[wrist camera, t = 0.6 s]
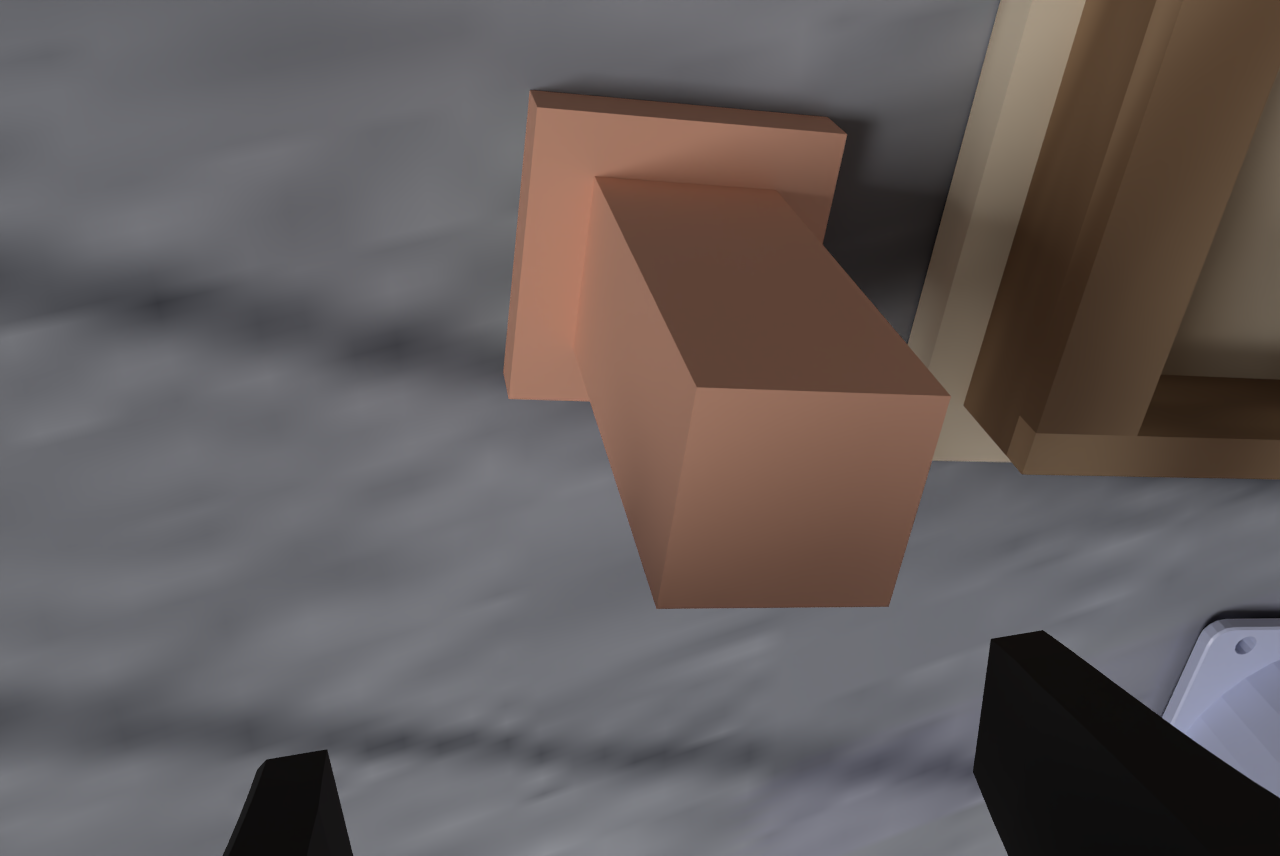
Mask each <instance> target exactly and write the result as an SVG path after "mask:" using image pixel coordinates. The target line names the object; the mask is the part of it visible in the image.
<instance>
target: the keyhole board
mask: <svg viewBox="0 0 1280 856" xmlns="http://www.w3.org/2000/svg"><path fill="white" fill-rule="evenodd" d="M908 346H909V347H910V348H911V349H912V351H913V352H914V353H915V354H916V355H917V357H918V358H919V359H920V360H921V361H922V362H923V364H924V365H925V366H926V367H927V368H928V370H929V371H930V372H931V373H932V374H933V375H934V377H935V378H936V379H937V380H938V381H939V382H940V384H941V385H942V386H943V387H944V388H945V390H946V391H947V392H948V393H949V394H950V395H951V398H950V402H949V405H948V408H947V412H946V415H945V418H944V422H943V425H942V429H941V432H940V435H939V439H938V442H937V445H936V449H935V452H934V456H933V459H932V461H975V462H1012V463H1013V464H1014V466H1015V467H1016V468H1017V469H1018V470H1019V471H1020V473H1021V474H1027V475H1079V476H1132V477H1184V478H1237V479H1280V0H1001V1H1000V4H999V8H998V12H997V15H996V19H995V23H994V26H993V30H992V34H991V38H990V41H989V45H988V49H987V52H986V56H985V60H984V63H983V67H982V71H981V75H980V78H979V82H978V86H977V89H976V93H975V97H974V100H973V104H972V108H971V112H970V115H969V119H968V123H967V126H966V130H965V134H964V138H963V141H962V145H961V149H960V152H959V156H958V160H957V163H956V167H955V171H954V175H953V178H952V182H951V186H950V189H949V193H948V197H947V200H946V204H945V208H944V212H943V215H942V219H941V223H940V226H939V230H938V234H937V237H936V241H935V245H934V249H933V252H932V256H931V260H930V263H929V267H928V271H927V275H926V278H925V282H924V286H923V289H922V293H921V297H920V300H919V304H918V308H917V312H916V315H915V319H914V323H913V326H912V330H911V334H910V337H909V341H908Z"/></svg>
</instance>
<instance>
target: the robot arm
mask: <svg viewBox="0 0 1280 856" xmlns="http://www.w3.org/2000/svg"><path fill="white" fill-rule="evenodd" d="M973 773H974V775H975V778H976V780H977V783H978V785H979V788H980V790H981V793H982V795H983V798H984V800H985V802H986V805H987V807H988V810H989V812H990V815H991V817H992V820H993V822H994V824H995V826H996V829H997V831H998V833H999V835H1000V838H1001V840H1002V842H1003V845H1004V847H1005V849H1006V851H1007V854H1008V856H1280V618H1260V619H1222V620H1217V621H1215V622H1213V623H1211V624H1209V625H1208V626H1207V627H1206V628H1204V629H1203V631H1202V632H1201V634H1200V636H1199V638H1198V640H1197V642H1196V644H1195V647H1194V649H1193V651H1192V653H1191V655H1190V657H1189V660H1188V662H1187V664H1186V666H1185V668H1184V671H1183V673H1182V675H1181V677H1180V679H1179V682H1178V684H1177V686H1176V688H1175V690H1174V693H1173V695H1172V697H1171V699H1170V701H1169V703H1168V706H1167V708H1166V710H1165V712H1164V714H1163V717H1160V716H1159V715H1157V714H1156V713H1155V712H1153V711H1152V710H1151V709H1149V708H1148V707H1147V706H1145V705H1144V704H1142V703H1141V702H1140V701H1138V700H1137V699H1136V698H1134V697H1133V696H1132V695H1130V694H1129V693H1128V692H1126V691H1125V690H1123V689H1122V688H1121V687H1119V686H1118V685H1117V684H1115V683H1114V682H1113V681H1111V680H1110V679H1109V678H1107V677H1106V676H1105V675H1103V674H1102V673H1101V672H1099V671H1098V670H1097V669H1095V668H1094V667H1093V666H1091V665H1090V664H1089V663H1087V662H1086V661H1084V660H1083V659H1082V658H1080V657H1079V656H1078V655H1076V654H1075V653H1074V652H1072V651H1071V650H1070V649H1068V648H1067V647H1066V646H1064V645H1063V644H1061V643H1060V642H1059V641H1057V640H1056V639H1054V638H1053V637H1052V636H1050V635H1049V634H1047V633H1046V632H1045V631H1043V630H1042V631H1036V632H1030V633H1024V634H1018V635H1012V636H1006V637H1000V638H994V639H991V643H990V650H989V658H988V665H987V672H986V680H985V687H984V694H983V702H982V709H981V717H980V724H979V731H978V739H977V746H976V753H975V761H974V768H973ZM223 856H353V853H352V849H351V845H350V841H349V837H348V833H347V829H346V825H345V821H344V816H343V812H342V808H341V804H340V800H339V796H338V792H337V788H336V784H335V780H334V775H333V771H332V767H331V763H330V759H329V755H328V751H327V750H321V751H315V752H309V753H303V754H297V755H291V756H285V757H279V758H273V759H267V760H266V761H265V762H264V763H263V764H262V765H261V766H260V767H259V768H258V769H257V772H256V775H255V777H254V780H253V783H252V786H251V789H250V791H249V794H248V796H247V799H246V801H245V804H244V807H243V809H242V812H241V814H240V817H239V819H238V821H237V824H236V826H235V829H234V831H233V833H232V836H231V838H230V840H229V843H228V845H227V847H226V849H225V852H224V854H223Z"/></svg>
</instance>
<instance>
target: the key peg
mask: <svg viewBox="0 0 1280 856" xmlns="http://www.w3.org/2000/svg"><path fill="white" fill-rule="evenodd" d="M846 138H847V134H846V133H845V132H844V131H843V130H842V129H841V128H839V127H838V126H837V125H836V124H835V123H834V122H833V121H832V120H830V119H829V118H828V117H822V116H811V115H800V114H789V113H778V112H767V111H756V110H745V109H734V108H723V107H712V106H701V105H690V104H679V103H668V102H657V101H646V100H635V99H624V98H613V97H602V96H591V95H580V94H569V93H558V92H547V91H536V90H530V94H529V105H528V116H527V126H526V137H525V148H524V158H523V169H522V180H521V190H520V201H519V211H518V222H517V233H516V243H515V254H514V265H513V275H512V286H511V297H510V307H509V318H508V329H507V339H506V350H505V360H504V371H503V373H504V378H505V383H506V388H507V393H508V398H509V399H530V400H563V401H590V403H591V406H592V409H593V412H594V415H595V418H596V421H597V424H598V428H599V431H600V434H601V437H602V440H603V443H604V446H605V449H606V453H607V456H608V459H609V462H610V465H611V468H612V471H613V474H614V478H615V481H616V484H617V487H618V490H619V493H620V496H621V499H622V502H623V506H624V509H625V512H626V515H627V518H628V521H629V524H630V527H631V531H632V534H633V537H634V540H635V543H636V546H637V549H638V552H639V556H640V559H641V562H642V565H643V568H644V571H645V574H646V577H647V580H648V584H649V587H650V590H651V593H652V596H653V599H654V602H655V605H656V609H681V608H789V607H889V604H890V600H891V597H892V594H893V590H894V587H895V584H896V580H897V577H898V573H899V570H900V567H901V563H902V560H903V557H904V553H905V550H906V547H907V543H908V540H909V536H910V533H911V530H912V526H913V523H914V520H915V516H916V513H917V509H918V506H919V503H920V499H921V496H922V493H923V489H924V486H925V482H926V479H927V476H928V472H929V469H930V466H931V462H932V459H933V456H934V452H935V449H936V445H937V442H938V439H939V435H940V432H941V429H942V425H943V422H944V418H945V415H946V412H947V408H948V405H949V402H950V398H951V395H950V394H949V393H948V392H947V391H946V390H945V388H944V387H943V386H942V385H941V384H940V382H939V381H938V380H937V379H936V378H935V377H934V375H933V374H932V373H931V372H930V371H929V370H928V368H927V367H926V366H925V365H924V364H923V362H922V361H921V360H920V359H919V358H918V357H917V355H916V354H915V353H914V352H913V351H912V349H911V348H910V347H909V346H908V345H907V344H906V342H905V341H904V340H903V339H902V338H901V337H900V335H899V334H898V333H897V332H896V331H895V329H894V328H893V327H892V326H891V325H890V324H889V322H888V321H887V320H886V319H885V318H884V316H883V315H882V314H881V313H880V312H879V311H878V309H877V308H876V307H875V306H874V305H873V304H872V302H871V301H870V300H869V299H868V298H867V296H866V295H865V294H864V293H863V292H862V291H861V289H860V288H859V287H858V286H857V285H856V283H855V282H854V281H853V280H852V279H851V278H850V276H849V275H848V274H847V273H846V272H845V271H844V269H843V268H842V267H841V266H840V265H839V263H838V262H837V261H836V260H835V259H834V258H833V256H832V255H831V254H830V253H829V252H828V250H827V249H826V248H825V247H824V246H823V240H824V236H825V231H826V227H827V223H828V218H829V214H830V209H831V205H832V200H833V196H834V191H835V187H836V182H837V178H838V173H839V169H840V164H841V160H842V155H843V151H844V147H845V142H846Z"/></svg>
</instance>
